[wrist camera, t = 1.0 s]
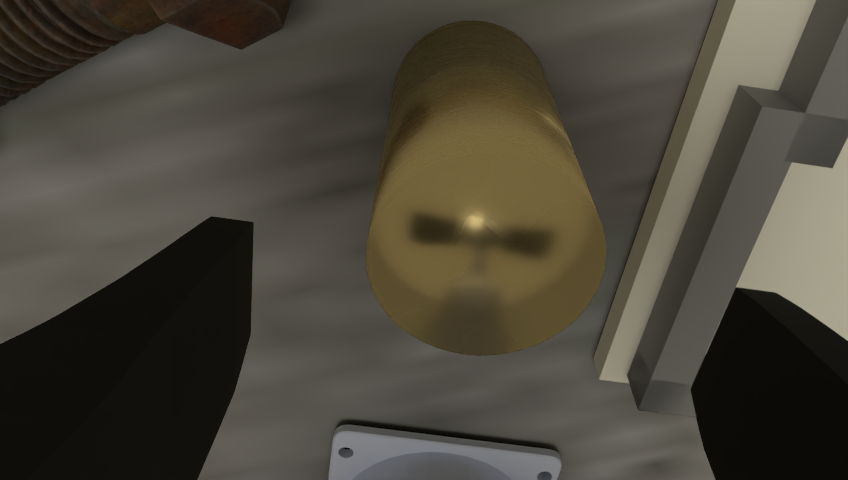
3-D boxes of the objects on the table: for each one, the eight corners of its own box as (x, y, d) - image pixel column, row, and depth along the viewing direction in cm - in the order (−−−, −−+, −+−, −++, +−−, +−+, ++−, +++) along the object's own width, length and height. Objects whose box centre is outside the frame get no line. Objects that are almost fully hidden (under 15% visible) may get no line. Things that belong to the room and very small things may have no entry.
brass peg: (527, 177, 20) (571, 368, 13) (385, 156, 20) (355, 340, 13) (562, 34, 18) (636, 172, 11) (404, 9, 18) (380, 135, 11)
